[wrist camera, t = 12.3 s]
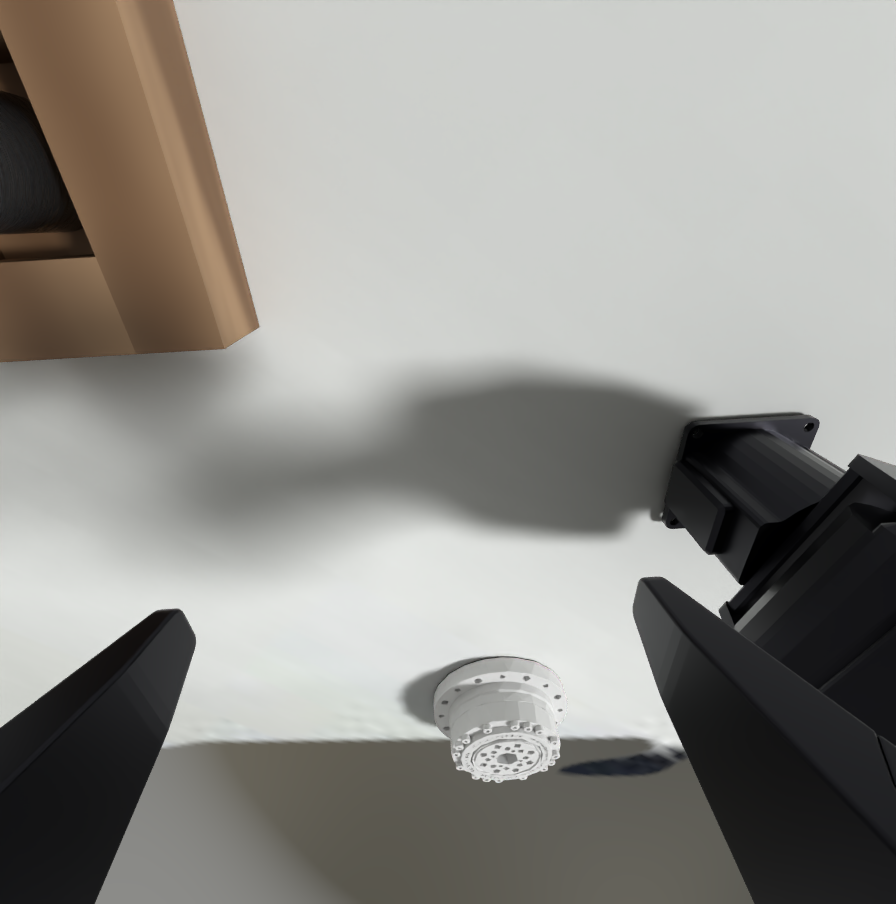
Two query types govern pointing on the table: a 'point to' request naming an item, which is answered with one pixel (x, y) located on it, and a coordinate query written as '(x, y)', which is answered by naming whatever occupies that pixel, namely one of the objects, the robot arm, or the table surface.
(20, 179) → the steel pin
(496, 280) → the table surface
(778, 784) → the robot arm
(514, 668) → the mechanical component
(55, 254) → the walnut bore block
